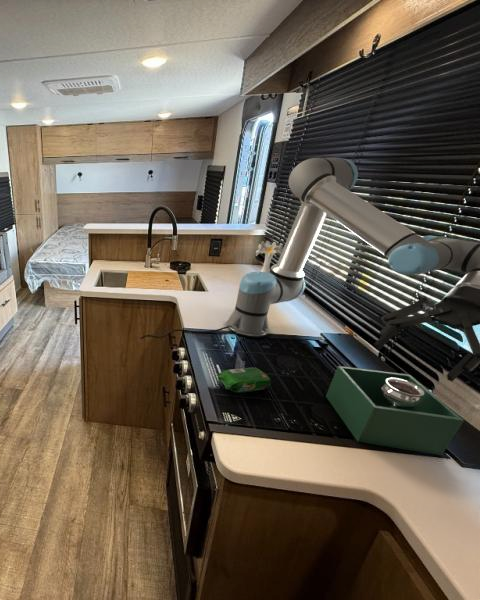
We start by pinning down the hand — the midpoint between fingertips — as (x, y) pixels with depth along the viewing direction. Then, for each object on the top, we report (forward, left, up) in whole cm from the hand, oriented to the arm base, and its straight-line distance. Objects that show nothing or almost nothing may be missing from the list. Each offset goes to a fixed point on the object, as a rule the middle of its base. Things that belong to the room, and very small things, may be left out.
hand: (410, 361), depth 73 cm
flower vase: (-2, +104, -19) cm, 106 cm away
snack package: (-32, +6, -19) cm, 38 cm away
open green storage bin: (-1, -1, -19) cm, 19 cm away
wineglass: (0, -2, -18) cm, 18 cm away
